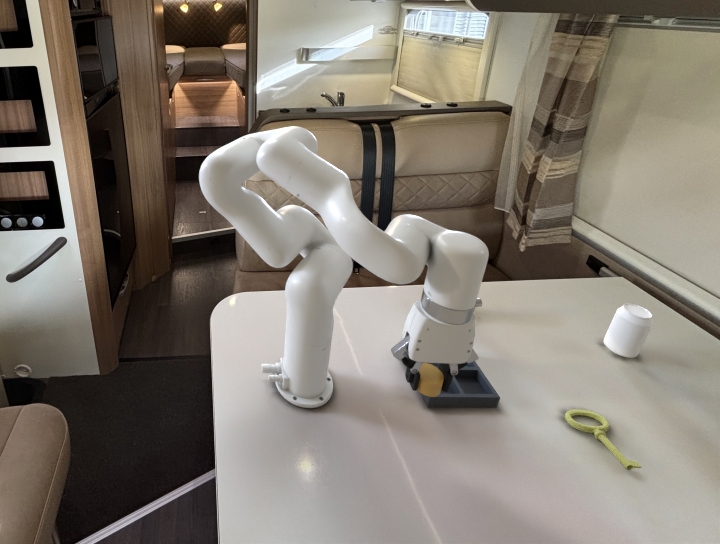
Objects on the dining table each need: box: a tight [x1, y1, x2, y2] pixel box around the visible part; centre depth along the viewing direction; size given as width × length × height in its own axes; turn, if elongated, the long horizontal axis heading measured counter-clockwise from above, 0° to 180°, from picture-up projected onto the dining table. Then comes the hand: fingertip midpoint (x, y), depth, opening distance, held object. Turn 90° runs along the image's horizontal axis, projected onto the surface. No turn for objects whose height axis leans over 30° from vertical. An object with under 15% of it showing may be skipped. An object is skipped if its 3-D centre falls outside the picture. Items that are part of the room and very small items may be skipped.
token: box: [416, 363, 444, 397], centre depth 76 cm, size 5×5×3 cm
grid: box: [405, 350, 501, 409], centre depth 95 cm, size 14×14×3 cm
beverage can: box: [603, 302, 654, 359], centre depth 100 cm, size 6×6×12 cm
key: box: [564, 408, 642, 471], centre depth 82 cm, size 7×12×2 cm, turn 15°
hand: (426, 383), depth 76 cm, fingers closed on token, 4 cm apart
